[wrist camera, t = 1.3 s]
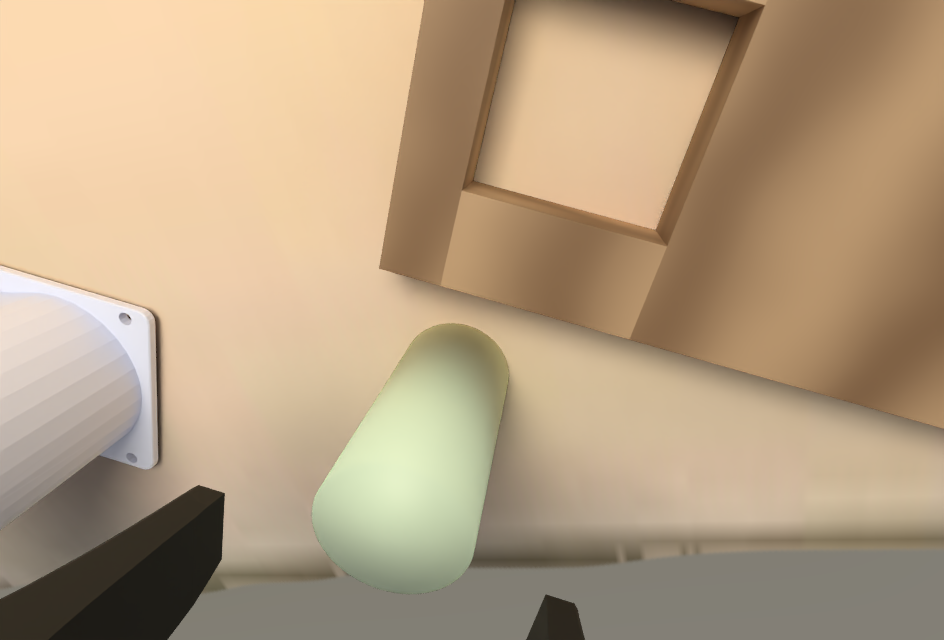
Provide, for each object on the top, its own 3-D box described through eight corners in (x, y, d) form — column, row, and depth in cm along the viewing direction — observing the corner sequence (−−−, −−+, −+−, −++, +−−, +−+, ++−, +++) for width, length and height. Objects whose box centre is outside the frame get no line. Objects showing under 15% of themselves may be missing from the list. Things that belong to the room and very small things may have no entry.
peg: (396, 400, 21) (303, 564, 13) (414, 310, 19) (321, 441, 12) (493, 430, 20) (454, 613, 13) (521, 341, 19) (493, 493, 11)
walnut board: (397, 251, 18) (379, 268, 16) (479, -193, 13) (465, -239, 11) (1044, 433, 17) (1102, 473, 15) (1397, 19, 12) (1546, 5, 10)
